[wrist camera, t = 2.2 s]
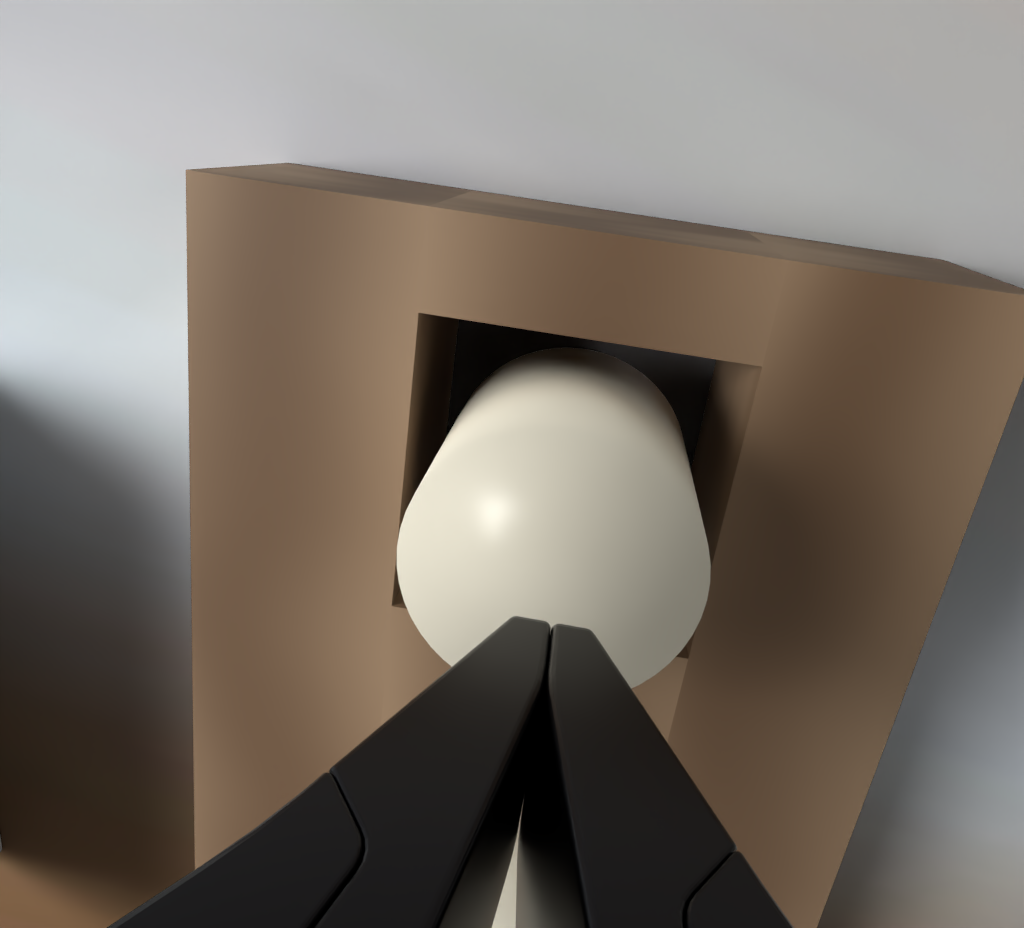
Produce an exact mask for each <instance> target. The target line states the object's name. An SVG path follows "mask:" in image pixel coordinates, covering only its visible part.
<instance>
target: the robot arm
mask: <svg viewBox="0 0 1024 928" xmlns="http://www.w3.org/2000/svg"><path fill="white" fill-rule="evenodd" d="M550 632H551V633H550ZM523 799H524V800H523ZM522 805H523V807H522ZM521 811H522V813H521ZM520 816H521V820H520ZM519 822H520V829H519V838H518V854H517V886H516V928H794V927H793V926H792V924H791V923H790V922H789V920H788V919H787V917H786V916H785V915H784V913H783V912H782V910H781V909H780V908H779V906H778V905H777V903H776V902H775V901H774V899H773V898H772V896H771V895H770V893H769V892H768V891H767V889H766V888H765V886H764V885H763V884H762V882H761V881H760V879H759V878H758V876H757V875H756V873H755V872H754V870H753V869H752V867H751V866H750V864H749V863H748V861H747V860H746V858H745V857H744V855H743V854H742V853H741V852H739V851H737V846H736V844H735V843H734V841H733V840H732V838H731V837H730V835H729V834H728V832H727V831H726V829H725V828H724V826H723V825H722V823H721V822H720V820H719V819H718V817H717V816H716V814H715V813H714V811H713V810H712V808H711V807H710V805H709V804H708V802H707V801H706V799H705V798H704V796H703V795H702V793H701V792H700V790H699V789H698V787H697V786H696V784H695V783H694V781H693V780H692V778H691V777H690V776H689V774H688V773H687V771H686V770H685V768H684V767H683V765H682V764H681V762H680V761H679V759H678V758H677V756H676V755H675V753H674V752H673V750H672V749H671V747H670V746H669V744H668V743H667V741H666V740H665V738H664V737H663V735H662V734H661V732H660V731H659V729H658V728H657V726H656V725H655V723H654V722H653V720H652V719H651V717H650V716H649V714H648V713H647V711H646V710H645V708H644V707H643V705H642V704H641V703H640V701H639V700H638V698H637V697H636V695H635V694H634V692H633V691H632V689H631V688H630V686H629V685H628V683H627V682H626V680H625V679H624V677H623V676H622V674H621V673H620V671H619V670H618V668H617V667H616V665H615V664H614V662H613V661H612V659H611V658H610V656H609V655H608V653H607V652H606V650H605V649H604V647H603V646H602V644H601V643H600V641H599V640H598V638H597V637H596V635H595V634H594V633H593V632H592V631H591V630H590V629H587V628H582V627H576V626H571V625H565V624H555V625H554V626H553V627H552V629H551V627H550V624H549V623H548V622H546V621H543V620H537V619H531V618H526V617H520V616H513V617H511V618H509V619H508V620H507V621H506V622H505V623H503V624H502V625H501V626H500V627H499V628H497V629H496V630H495V631H494V632H493V633H491V634H490V635H489V636H488V637H487V638H485V639H484V640H483V641H482V642H481V643H479V644H478V645H477V646H476V647H475V648H473V649H472V650H471V651H470V652H469V653H467V654H466V655H465V656H464V657H463V658H462V659H460V660H459V661H458V662H457V663H456V664H454V665H453V666H452V667H451V668H450V669H448V670H447V671H446V672H445V673H444V674H442V675H441V676H440V677H439V678H438V679H436V680H435V681H434V682H433V683H432V684H430V685H429V686H428V687H427V688H426V689H424V690H423V691H422V692H421V693H420V694H418V695H417V696H416V697H415V698H414V699H412V700H411V701H410V702H409V703H408V704H407V705H405V706H404V707H403V708H402V709H401V710H399V711H398V712H397V713H396V714H395V715H393V716H392V717H391V718H390V719H389V720H387V721H386V722H385V723H384V724H383V725H381V726H380V727H379V728H378V729H377V730H375V731H374V732H373V733H372V734H371V735H369V736H368V737H367V738H366V739H365V740H363V741H362V742H361V743H360V744H359V745H357V746H356V747H355V748H354V749H353V750H351V751H350V752H349V753H348V754H347V755H346V756H344V757H343V758H342V759H341V760H340V761H338V762H337V763H336V764H335V765H334V766H332V767H331V768H330V770H329V773H328V772H326V773H323V774H322V775H321V776H320V777H319V778H317V779H316V780H315V781H314V782H313V783H311V784H310V785H309V786H308V787H307V788H305V789H304V790H303V791H302V792H301V793H299V794H298V795H297V796H296V797H294V798H293V799H292V800H291V801H289V802H288V803H287V804H285V805H284V806H283V807H282V808H280V809H279V810H278V811H277V812H275V813H274V814H273V815H271V816H270V817H269V818H268V819H266V820H265V821H264V822H262V823H261V824H260V825H259V826H257V827H256V828H255V829H253V830H252V831H250V832H249V833H248V834H246V835H245V836H243V837H242V838H240V839H239V840H238V841H236V842H235V843H233V844H232V845H230V846H229V847H227V848H226V849H225V850H223V851H222V852H220V853H219V854H217V855H216V856H214V857H213V858H212V859H210V860H209V861H207V862H206V863H204V864H203V865H201V866H200V867H198V868H197V869H195V870H194V871H192V872H191V873H189V874H188V875H186V876H185V877H183V878H182V879H180V880H179V881H177V882H176V883H174V884H173V885H171V886H170V887H168V888H166V889H165V890H163V891H162V892H160V893H159V894H157V895H156V896H154V897H153V898H151V899H150V900H148V901H147V902H145V903H144V904H142V905H141V906H139V907H137V908H136V909H134V910H133V911H131V912H130V913H128V914H127V915H125V916H124V917H122V918H121V919H119V920H118V921H116V922H115V923H113V924H112V925H110V926H108V927H107V928H492V925H493V921H494V918H495V914H496V911H497V907H498V904H499V900H500V897H501V893H502V890H503V886H504V883H505V879H506V876H507V872H508V869H509V865H510V862H511V858H512V854H513V850H514V846H515V842H516V838H517V832H518V827H519Z"/></svg>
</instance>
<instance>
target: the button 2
mask: <svg viewBox="0 0 1024 928" xmlns="http://www.w3.org/2000/svg"><path fill="white" fill-rule="evenodd" d="M710 569H711V563H710V555H709V548H708V542H707V538H706V534H705V529H704V525H703V521H702V517H701V512H700V508H699V504H698V499H697V495H696V491H695V487H694V482H693V478H692V474H691V469H690V465H689V461H688V457H687V452H686V448H685V444H684V439H683V436H682V432H681V428H680V425H679V422H678V420H677V418H676V415H675V413H674V411H673V409H672V407H671V406H670V404H669V402H668V401H667V399H666V398H665V396H664V395H663V394H662V393H661V391H660V390H659V389H658V388H657V387H656V385H655V384H654V383H653V382H651V381H650V380H649V379H648V378H647V377H646V376H645V375H644V374H642V373H641V372H640V371H638V370H637V369H635V368H634V367H632V366H631V365H629V364H627V363H625V362H623V361H622V360H620V359H618V358H615V357H613V356H610V355H607V354H604V353H602V352H597V351H593V350H588V349H581V348H570V347H568V348H551V349H545V350H539V351H535V352H532V353H529V354H525V355H523V356H520V357H518V358H516V359H514V360H512V361H509V362H508V363H506V364H504V365H503V366H501V367H500V368H498V369H496V370H495V371H494V372H493V373H492V374H490V375H489V376H488V377H487V378H486V379H484V380H483V382H482V383H481V384H480V385H479V386H478V387H477V388H476V389H475V390H474V392H473V393H472V395H471V396H470V398H469V399H468V400H467V402H466V404H465V405H464V407H463V409H462V411H461V412H460V414H459V416H458V418H457V420H456V421H455V423H454V425H453V427H452V428H451V430H450V432H449V434H448V435H447V437H446V439H445V441H444V443H443V444H442V446H441V448H440V450H439V451H438V453H437V455H436V457H435V458H434V460H433V462H432V464H431V466H430V467H429V469H428V471H427V473H426V474H425V476H424V478H423V480H422V481H421V483H420V485H419V487H418V489H417V490H416V492H415V494H414V496H413V498H412V500H411V502H410V504H409V506H408V508H407V510H406V512H405V515H404V518H403V521H402V524H401V527H400V532H399V538H398V544H397V572H398V580H399V585H400V589H401V593H402V596H403V600H404V603H405V605H406V607H407V610H408V612H409V614H410V617H411V618H412V620H413V622H414V624H415V625H416V627H417V629H418V630H419V632H420V634H421V635H422V636H423V637H424V639H425V640H426V641H427V643H428V644H429V645H430V647H431V648H432V649H433V650H434V651H435V652H436V653H437V654H438V655H439V656H440V657H441V658H442V659H443V660H444V661H445V662H447V663H448V664H449V665H450V666H453V665H454V664H456V663H457V662H458V661H459V660H460V659H462V658H463V657H464V656H465V655H466V654H467V653H469V652H470V651H471V650H472V649H473V648H475V647H476V646H477V645H478V644H479V643H481V642H482V641H483V640H484V639H485V638H487V637H488V636H489V635H490V634H491V633H493V632H494V631H495V630H496V629H497V628H499V627H500V626H501V625H502V624H503V623H505V622H506V621H507V620H508V619H509V618H511V617H513V616H520V617H526V618H531V619H537V620H543V621H546V622H548V623H549V624H550V627H551V629H552V627H553V626H554V625H555V624H565V625H571V626H576V627H582V628H587V629H590V630H591V631H592V632H593V633H594V634H595V635H596V637H597V638H598V640H599V641H600V643H601V644H602V646H603V647H604V649H605V650H606V652H607V653H608V655H609V656H610V658H611V659H612V661H613V662H614V664H615V665H616V667H617V668H618V670H619V671H620V673H621V674H622V676H623V677H624V679H625V680H626V682H627V683H628V685H629V686H630V688H631V689H632V688H634V687H636V686H638V685H640V684H642V683H643V682H645V681H646V680H648V679H650V678H651V677H653V676H654V675H656V674H657V673H658V672H659V671H661V670H662V669H663V668H664V667H666V666H667V665H668V664H669V663H670V662H671V661H672V660H673V659H674V658H675V657H676V656H677V655H678V654H679V653H680V652H681V651H682V649H683V648H684V647H685V645H686V644H687V642H688V641H689V639H690V638H691V637H692V635H693V633H694V631H695V629H696V627H697V626H698V624H699V622H700V620H701V617H702V614H703V611H704V608H705V605H706V602H707V598H708V592H709V587H710ZM550 633H551V632H550Z"/></svg>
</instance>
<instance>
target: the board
mask: <svg viewBox="0 0 1024 928" xmlns="http://www.w3.org/2000/svg"><path fill="white" fill-rule="evenodd" d="M186 215H187V293H188V371H189V448H190V526H191V604H192V682H193V759H194V837H195V869H197V868H198V867H200V866H201V865H203V864H204V863H206V862H207V861H209V860H210V859H212V858H213V857H214V856H216V855H217V854H219V853H220V852H222V851H223V850H225V849H226V848H227V847H229V846H230V845H232V844H233V843H235V842H236V841H238V840H239V839H240V838H242V837H243V836H245V835H246V834H248V833H249V832H250V831H252V830H253V829H255V828H256V827H257V826H259V825H260V824H261V823H262V822H264V821H265V820H266V819H268V818H269V817H270V816H271V815H273V814H274V813H275V812H277V811H278V810H279V809H280V808H282V807H283V806H284V805H285V804H287V803H288V802H289V801H291V800H292V799H293V798H294V797H296V796H297V795H298V794H299V793H301V792H302V791H303V790H304V789H305V788H307V787H308V786H309V785H310V784H311V783H313V782H314V781H315V780H316V779H317V778H319V777H320V776H321V775H322V774H323V773H326V772H328V773H329V770H330V768H331V767H332V766H334V765H335V764H336V763H337V762H338V761H340V760H341V759H342V758H343V757H344V756H346V755H347V754H348V753H349V752H350V751H351V750H353V749H354V748H355V747H356V746H357V745H359V744H360V743H361V742H362V741H363V740H365V739H366V738H367V737H368V736H369V735H371V734H372V733H373V732H374V731H375V730H377V729H378V728H379V727H380V726H381V725H383V724H384V723H385V722H386V721H387V720H389V719H390V718H391V717H392V716H393V715H395V714H396V713H397V712H398V711H399V710H401V709H402V708H403V707H404V706H405V705H407V704H408V703H409V702H410V701H411V700H412V699H414V698H415V697H416V696H417V695H418V694H420V693H421V692H422V691H423V690H424V689H426V688H427V687H428V686H429V685H430V684H432V683H433V682H434V681H435V680H436V679H438V678H439V677H440V676H441V675H442V674H444V673H445V672H446V671H447V670H448V669H450V668H451V667H452V666H450V665H449V664H448V663H447V662H445V661H444V660H443V659H442V658H441V657H440V656H439V655H438V654H437V653H436V652H435V651H434V650H433V649H432V648H431V647H430V645H429V644H428V643H427V641H426V640H425V639H424V637H423V636H422V635H421V634H420V632H419V630H418V629H417V627H416V625H415V624H414V622H413V620H412V618H411V617H410V614H409V612H408V610H407V607H406V605H405V603H404V600H403V596H402V593H401V589H400V585H399V580H398V572H397V544H398V538H399V532H400V527H401V524H402V521H403V518H404V515H405V512H406V510H407V508H408V506H409V504H410V502H411V500H412V498H413V496H414V494H415V492H416V490H417V489H418V487H419V485H420V483H421V481H422V480H423V478H424V476H425V474H426V473H427V471H428V469H429V467H430V466H431V464H432V462H433V460H434V458H435V457H436V455H437V453H438V451H439V450H440V448H441V446H442V444H443V443H444V441H445V439H446V433H447V424H448V415H449V406H450V397H451V388H452V378H453V369H454V360H455V351H456V342H457V333H458V324H459V319H462V320H469V321H475V322H482V323H488V324H494V325H501V326H507V327H513V328H520V329H526V330H532V331H539V332H545V333H551V334H558V335H564V336H571V337H577V338H583V339H590V340H596V341H602V342H609V343H615V344H621V345H628V346H634V347H640V348H647V349H653V350H659V351H666V352H672V353H679V354H685V355H691V356H698V357H704V358H710V359H716V363H715V367H714V371H713V376H712V380H711V384H710V389H709V393H708V397H707V402H706V406H705V410H704V415H703V419H702V423H701V428H700V432H699V436H698V441H697V445H696V449H695V454H694V458H693V462H692V467H691V474H692V478H693V482H694V487H695V491H696V495H697V499H698V504H699V508H700V512H701V517H702V521H703V525H704V529H705V534H706V538H707V542H708V548H709V555H710V563H711V569H710V587H709V592H708V598H707V602H706V605H705V608H704V611H703V614H702V617H701V620H700V622H699V624H698V626H697V627H696V629H695V631H694V633H693V635H692V637H691V638H690V639H689V641H688V642H687V644H686V645H685V647H684V648H683V649H682V651H681V652H680V653H679V654H678V655H677V656H676V657H675V658H674V659H673V660H672V661H671V662H670V663H669V664H668V665H667V666H666V667H664V668H663V669H662V670H661V671H659V672H658V673H657V674H656V675H654V676H653V677H651V678H650V679H648V680H646V681H645V682H643V683H642V684H640V685H638V686H636V687H634V688H632V691H633V692H634V694H635V695H636V697H637V698H638V700H639V701H640V703H641V704H642V705H643V707H644V708H645V710H646V711H647V713H648V714H649V716H650V717H651V719H652V720H653V722H654V723H655V725H656V726H657V728H658V729H659V731H660V732H661V734H662V735H663V737H664V738H665V740H666V741H667V743H668V744H669V746H670V747H671V749H672V750H673V752H674V753H675V755H676V756H677V758H678V759H679V761H680V762H681V764H682V765H683V767H684V768H685V770H686V771H687V773H688V774H689V776H690V777H691V778H692V780H693V781H694V783H695V784H696V786H697V787H698V789H699V790H700V792H701V793H702V795H703V796H704V798H705V799H706V801H707V802H708V804H709V805H710V807H711V808H712V810H713V811H714V813H715V814H716V816H717V817H718V819H719V820H720V822H721V823H722V825H723V826H724V828H725V829H726V831H727V832H728V834H729V835H730V837H731V838H732V840H733V841H734V843H735V844H736V846H737V851H739V852H741V853H742V854H743V855H744V857H745V858H746V860H747V861H748V863H749V864H750V866H751V867H752V869H753V870H754V872H755V873H756V875H757V876H758V878H759V879H760V881H761V882H762V884H763V885H764V886H765V888H766V889H767V891H768V892H769V893H770V895H771V896H772V898H773V899H774V901H775V902H776V903H777V905H778V906H779V908H780V909H781V910H782V912H783V913H784V915H785V916H786V917H787V919H788V920H789V922H790V923H791V924H792V926H793V927H794V928H817V926H818V923H819V920H820V918H821V915H822V912H823V910H824V907H825V904H826V902H827V899H828V896H829V894H830V891H831V888H832V886H833V883H834V880H835V878H836V875H837V872H838V870H839V867H840V864H841V862H842V859H843V857H844V854H845V851H846V849H847V846H848V843H849V841H850V838H851V835H852V833H853V830H854V827H855V825H856V822H857V819H858V817H859V814H860V811H861V809H862V806H863V803H864V801H865V798H866V795H867V793H868V790H869V787H870V785H871V782H872V779H873V777H874V774H875V771H876V769H877V766H878V763H879V761H880V758H881V755H882V753H883V750H884V747H885V745H886V742H887V739H888V737H889V734H890V731H891V729H892V726H893V724H894V721H895V718H896V716H897V713H898V710H899V708H900V705H901V702H902V700H903V697H904V694H905V692H906V689H907V686H908V684H909V681H910V678H911V676H912V673H913V670H914V668H915V665H916V662H917V660H918V657H919V654H920V652H921V649H922V646H923V644H924V641H925V638H926V636H927V633H928V630H929V628H930V625H931V622H932V620H933V617H934V614H935V612H936V609H937V606H938V604H939V601H940V598H941V596H942V593H943V591H944V588H945V585H946V583H947V580H948V577H949V575H950V572H951V569H952V567H953V564H954V561H955V559H956V556H957V553H958V551H959V548H960V545H961V543H962V540H963V537H964V535H965V532H966V529H967V527H968V524H969V521H970V519H971V516H972V513H973V511H974V508H975V505H976V503H977V500H978V497H979V495H980V492H981V489H982V487H983V484H984V481H985V479H986V476H987V473H988V471H989V468H990V465H991V463H992V460H993V458H994V455H995V452H996V450H997V447H998V444H999V442H1000V439H1001V436H1002V434H1003V431H1004V428H1005V426H1006V423H1007V420H1008V418H1009V415H1010V412H1011V410H1012V407H1013V404H1014V402H1015V399H1016V396H1017V394H1018V391H1019V388H1020V386H1021V383H1022V380H1023V378H1024V289H1022V288H1019V287H1016V286H1013V285H1011V284H1008V283H1005V282H1002V281H1000V280H997V279H994V278H991V277H989V276H986V275H983V274H980V273H977V272H975V271H972V270H969V269H966V268H964V267H961V266H958V265H955V264H953V263H950V262H947V261H944V260H939V259H933V258H926V257H919V256H912V255H906V254H899V253H892V252H885V251H879V250H872V249H865V248H858V247H852V246H845V245H838V244H832V243H825V242H818V241H811V240H805V239H798V238H791V237H784V236H778V235H771V234H764V233H757V232H751V231H744V230H737V229H730V228H724V227H717V226H710V225H703V224H697V223H690V222H683V221H676V220H670V219H663V218H656V217H649V216H643V215H636V214H629V213H623V212H616V211H609V210H602V209H596V208H589V207H582V206H575V205H569V204H562V203H555V202H548V201H542V200H535V199H528V198H521V197H515V196H508V195H501V194H494V193H488V192H481V191H474V190H467V189H461V188H454V187H447V186H440V185H434V184H427V183H420V182H414V181H407V180H400V179H393V178H387V177H380V176H373V175H366V174H360V173H353V172H346V171H339V170H333V169H326V168H319V167H312V166H306V165H299V164H292V163H280V164H265V165H250V166H235V167H221V168H206V169H191V170H186Z"/></svg>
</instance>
